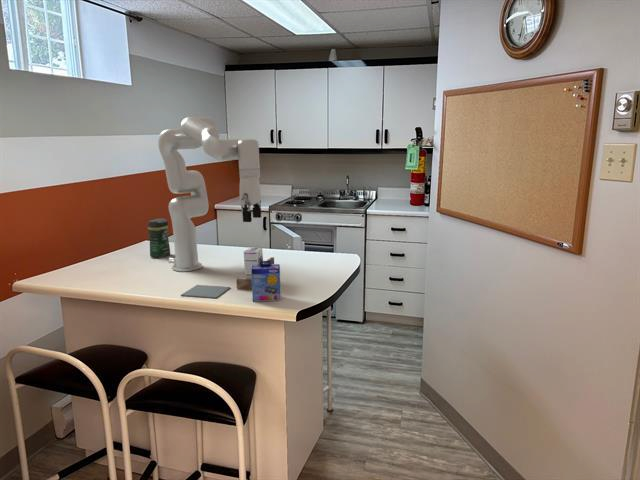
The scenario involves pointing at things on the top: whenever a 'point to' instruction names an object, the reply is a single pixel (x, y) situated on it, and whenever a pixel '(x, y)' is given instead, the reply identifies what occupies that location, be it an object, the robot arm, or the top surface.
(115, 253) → the top surface
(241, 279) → the stair flight
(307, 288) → the top surface
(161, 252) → the coffee jar
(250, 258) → the syrup box
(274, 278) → the ink cartridge box
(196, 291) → the grey mat
